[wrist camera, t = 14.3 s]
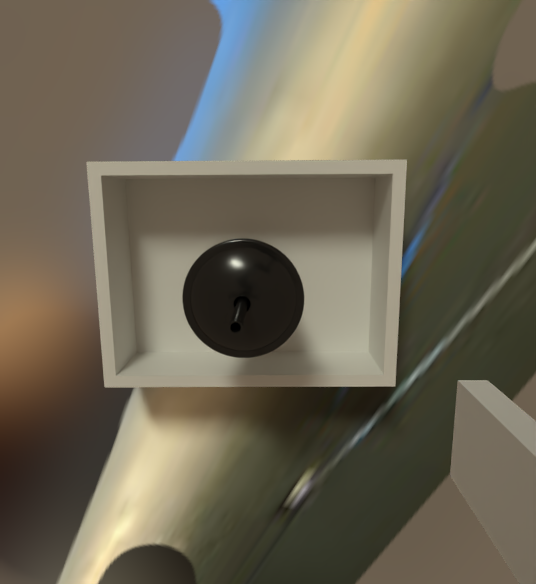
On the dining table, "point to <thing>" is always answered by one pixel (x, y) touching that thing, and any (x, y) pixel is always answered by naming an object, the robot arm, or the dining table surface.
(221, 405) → the dining table surface
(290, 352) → the box
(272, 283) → the drinking cup
